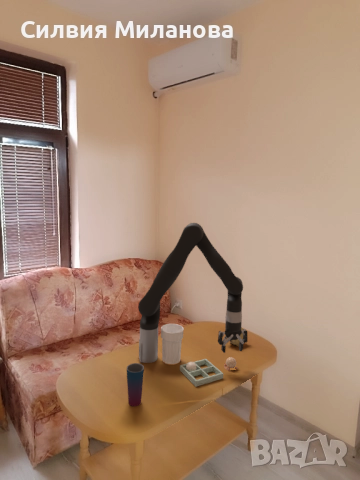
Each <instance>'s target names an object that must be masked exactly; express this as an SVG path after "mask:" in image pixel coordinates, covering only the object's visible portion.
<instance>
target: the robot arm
mask: <svg viewBox="0 0 360 480" xmlns="http://www.w3.org/2000/svg"><path fill="white" fill-rule="evenodd" d="M196 247H197V249H198V250H199V251H200V252H201V254H202V255H203V256H204V258H205V260H206V262H207V264H208V265H209V266H210V268H211V269H212V270H213V272H214V273H215V274H216V275H217V277H218V278H219V279H220V280H221V283H222V284H223V285H224V287H225V288H226V290H227V299H226V312H225V327H224V328H225V330H224V331H222V330H219V331H218V334H217V335H218V337H217V343H218V344H219V345H220V346H221V349H220V350H221V352H223V354H225V353H226V351H227V350H226V345H227V344H228V343H229V342H230V341H231V340H237V339H238V340H239V341H240V342H239V346H238V350H239V351H240V352H243V350H244V344H245V343H248V331H247V329H245V328H243V330H241V327H242V323H243V322H242V319H243V313H242V310H243V309H242V308H243V302H242V295H243V294H242V292H243V289H244V285H243V281H242V279H241V278H240V277H238V276H236V275H235V273H234V272H233V270H232V268H231V267H230V265H229V264H228V263H227V261H226V260H225V259H224V257H223V256H222V255H221V254H220V252H218V251H217V249H216V248H215V246H214V245H213V244H212V243H211V241H210V239H209V238H208V236H207V235H206V233H205V231H204V229H203V226H201V224H200V223H197V222H190V223H189V224H187V225H186V226H185V227H184V228H183V230H182V232H181V235H180V237H179V239H178V241H177V243H176V245H175V246H174V248H173V250H171V252H169V254H168V255H167V257H166V258H165V260H164V262H163V263H162V264H161V267H160V268H159V270H158V272H157V274H156V276H155V277H154V280H153V282H152V283H151V286H150V287H149V289H148V290H147V292H146V293H145V295H144V296H143V297H142V298H141V299H140V300H139V302H138V312H139V313H140V315H141V318H140V320H139V321H140V322H139V339H138V359H139V362H140V363H144V364H146V363H147V364H149V363H155V362H156V361H157V360H158V355H159V323H160V318H161V315H160V314H161V313H160V312H161V300H162V298H163V296H164V295H165V294H166V293H167V292H168V290H170V289H171V287H172V286H173V285H174V283H175V282H176V280H177V279H178V277H179V276H180V274H181V272H182V271H183V268H184V267H185V264H186V262H187V259H188V257H189V256H190V254H191V252H193V250H194V249H195V248H196ZM241 334H243V339H241V338H240V335H241Z"/></svg>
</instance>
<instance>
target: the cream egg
mask: <svg viewBox="0 0 360 480" xmlns="http://www.w3.org/2000/svg"><path fill="white" fill-rule="evenodd" d="M194 362H195V361H189V362H187V363H186V364H187V365H186V370H187V371H188V372H192V371H195V370H196V369H197V366H196V364H195V363H194Z"/></svg>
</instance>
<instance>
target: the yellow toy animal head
mask: <svg viewBox="0 0 360 480" xmlns="http://www.w3.org/2000/svg"><path fill="white" fill-rule="evenodd" d="M243 329H244V327H243V326H241V330H243ZM240 338H241V339H243V334H241V335H240ZM229 342H230V344H232V345H233V346H237V347H239V342H240V341H239V340H238V339H237V340H231V341H229Z"/></svg>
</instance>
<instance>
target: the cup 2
mask: <svg viewBox="0 0 360 480" xmlns="http://www.w3.org/2000/svg"><path fill="white" fill-rule="evenodd" d="M184 330H185V328H184V327H183V325H180V324H177V323H167V324H163V325H161V327H160V338H161V342H162V344H161V350H162V352H161V353H162V357H161V360H162V362H163V363H164V365H169V366H175V365H178V364H180V362H181V354H182V340H183V338H184Z"/></svg>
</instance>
